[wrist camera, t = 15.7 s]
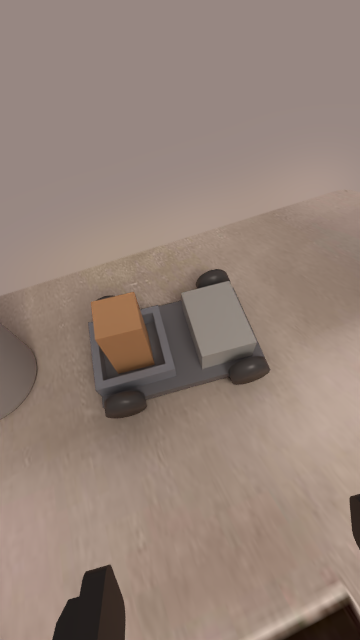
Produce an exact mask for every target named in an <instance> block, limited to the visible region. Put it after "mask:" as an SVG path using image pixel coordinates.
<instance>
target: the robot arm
mask: <svg viewBox="0 0 360 640" xmlns="http://www.w3.org/2000/svg"><path fill="white" fill-rule="evenodd" d="M350 511H351V523H352V532H353V536H354V539H355V541H356V543H357V545H358V547H359V549H360V494H357V495H354V496H351V497H350ZM52 640H125V606H124V601H123V597H122V594H121V591H120V589H119V586H118V583H117V580H116V578H115V575H114V572H113V569H112V567H111V565H107V566H103V567H100V568H96V569H93V570H89V571H86V572H85V574H84V576H83V580H82V585H81V591H80V596H79V597H76V598H72V599H69V600H68V602H67V604H66V606H65V607H64V609H63V611H62V613H61V615H60V617H59V619H58V621H57V623H56V627H55V631H54V635H53V639H52Z"/></svg>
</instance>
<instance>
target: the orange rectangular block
mask: <svg viewBox="0 0 360 640" xmlns="http://www.w3.org/2000/svg"><path fill="white" fill-rule="evenodd" d="M91 307H92V316H93V325H94V334H95V340H96V342H97V343H98V345H99V346H100V348H101V349H102V351H103V352H104V354H105V355H106V356H107V358H108V359H109V361H110V362H111V364H112V365H113V367H114V368H115V370H116V371H117V372H118V374H120V373H124V372H128V371H131V370H135V369H139V368H143V367H147V366H151V365H155V363H154V359H153V354H152V350H151V345H150V341H149V336H148V332H147V329H146V326H145V323H144V320H143V317H142V314H141V311H140V308H139V305H138V302H137V299H136V296H135V293H134V292H131V293H127V294H123V295H118V296H114V297H110V298H106V299H102V300H98V301H93V302H91Z"/></svg>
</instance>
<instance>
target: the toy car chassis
mask: <svg viewBox="0 0 360 640" xmlns="http://www.w3.org/2000/svg"><path fill="white" fill-rule="evenodd" d="M196 286H197V289H195V290H191V291H187V292H183V293H181V297H182V301H178V302H174V303H170V304H166V305H162V306H158V305H156V306H152V307H149V308H145V309H141V310H140V311H141V314H142V317H143V320H144V323H145V326H146V329H147V332H148V336H149V341H150V345H151V350H152V354H153V359H154V363H155V365H151V366H147V367H143V368H139V369H135V370H131V371H128V372H124V373H120V374H118V372H117V371H116V370H115V368H114V367H113V365H112V364H111V362H110V361H109V359H108V358H107V356H106V355H105V354H104V352H103V351H102V349H101V348H100V346H99V345H98V343H97V342H96V340H95V334H94V325H93V322H89V323H88V325H89V334H90V343H91V352H92V361H93V370H94V379H95V388H96V391H97V392H98V393H99V394H100V395H101V396H102V402H103V408H104V409H105V415H106V417H108V418H123V417H128V416H132V415H135V414H137V413H140V412H142V411H143V410H145V409H146V407H147V405H146V400H147V399H151V398H154V397H158V396H161V395H165V394H169V393H172V392H176V391H179V390H183V389H187V388H190V387H194V386H197V385H201V384H205V383H208V382H212V381H215V380H219V379H223V378H226V377H230V378H231V381H232V383H233V384H236V385H239V384H245V383H249V382H252V381H255V380H257V379H260V378H262V377H263V376H265V375H266V374H268V373H269V371H270V368H269V366H268V364H267V361H266V359H265V357H264V355H263V352H262V350H261V348H260V346H259V344H258V341H257V339H256V337H255V335H254V333H253V330H252V328H251V326H250V324H249V322H248V319H247V317H246V315H245V313H244V310H243V308H242V306H241V304H240V302H239V299H238V297H237V295H236V293H235V291H234V288H232V286H231V283H230V280H229V278H228V275H227V273H226V272H225V271H223V270H220V269H215V270H211V271H208V272H206V273H204V274H203V275H201V276H200V277H199V279H198V280H197V282H196ZM110 297H114V296H105V297H102V298H99V299H98V300H102V299H106V298H110ZM98 300H96V301H98Z"/></svg>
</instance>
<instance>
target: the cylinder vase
mask: <svg viewBox="0 0 360 640" xmlns="http://www.w3.org/2000/svg"><path fill="white" fill-rule="evenodd" d="M36 371H37V365H36V359H35V356H34V354H33V352H32V351H31V349H30V348H29V347H28V346H27V345H26V344H24V343H23V342H22V341H21V340H20V339H19V338H17V337H16V336H15V335H14V334H13V333H12V332H10V331H9V330H8V329H7V328H6V327H5V326H3V325H2V324H1V323H0V419H2V418H3V417H5V416H7V415H8V414H10V413H11V412H12V411H14V410H15V409H16V408H17V407H18V406H19V405H20V404H21V403H22V402H23V401H24V399H25V398H26V397H27V395H28V394H29V392H30V390H31V388H32V386H33V384H34V381H35V377H36Z"/></svg>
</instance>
